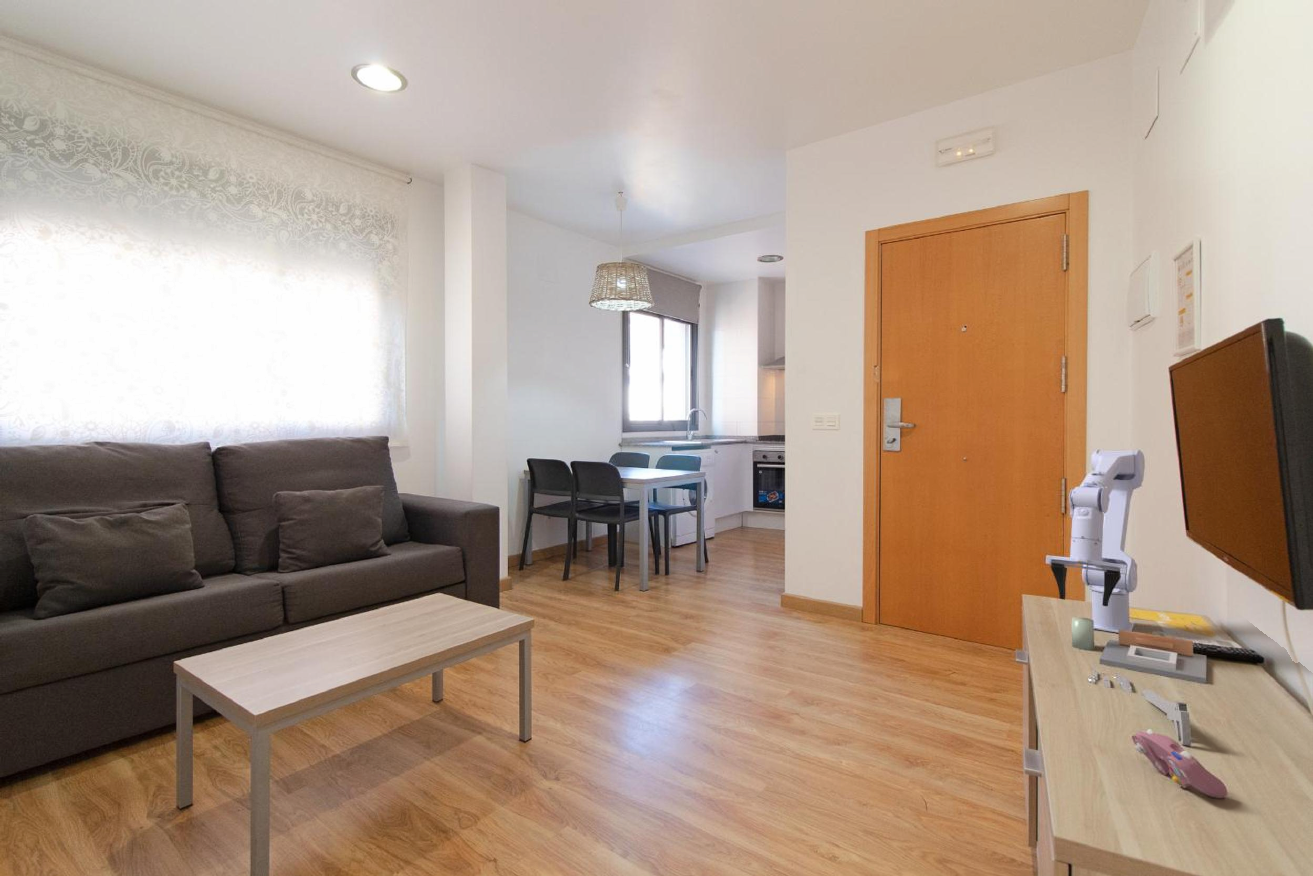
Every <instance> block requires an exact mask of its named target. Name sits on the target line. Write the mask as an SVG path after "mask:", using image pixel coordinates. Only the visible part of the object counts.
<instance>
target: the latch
mask: <svg viewBox="0 0 1313 876" xmlns="http://www.w3.org/2000/svg"><path fill="white" fill-rule="evenodd" d="M1117 635H1118V641H1119V644H1123V645H1129V646H1131V645H1132V646H1138V647H1144V648H1150V649H1156V650H1162V651H1168V652H1174V653H1177V654H1183V655H1189V656H1193V653H1194V640H1189V639H1183V638H1176V637H1170V636H1165V635H1164V636H1163V635H1157V634H1150V633H1144V632H1138V631H1133V630H1132V631H1126V630H1120V629H1119V631H1118V633H1117Z"/></svg>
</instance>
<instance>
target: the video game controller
mask: <svg viewBox="0 0 1313 876" xmlns="http://www.w3.org/2000/svg"><path fill="white" fill-rule="evenodd" d="M1131 740H1132V741H1133V743H1134V748H1135V750H1136V751H1137V752H1138V753H1140V754H1141V755H1142V754H1143V755H1144V756H1145V757H1146V758H1147V759H1148V760H1149V761H1150V762H1151V764H1152V766H1153V767H1155V769H1156V770H1157V771H1158V772H1159V771H1160V772H1159V773H1161V774H1162V773H1163V774H1162V775H1164V776H1165V775H1167V774H1169V775H1170V777H1171V779H1172V781H1173V782H1174V783H1176V784H1177V785H1178V784H1179V785H1181V786H1182V787H1184V788H1183V789H1186V788H1188V787H1190V786H1192V787H1193V788H1195V789H1196V790H1198V791H1199V792H1202V793H1203V794H1205V795H1207V796H1209V797H1211V798H1214V797H1215V799H1224V798H1225V797H1226V796H1227V794H1228V790H1227V786H1226V785H1225V783H1224V782H1223V781H1222V780H1221V779H1219V778H1218V777H1217V776H1215V775H1214V774H1212V773H1211V772H1210V771H1209V770H1207V769H1206V768H1205V767H1204V766H1203V765H1202V764H1201V763H1200V761H1199V760H1198V759H1196V758H1195V757H1194V756H1193V755H1191V754H1190V753H1189V752H1188V751H1186V750H1185V749H1184V748H1183V747H1182V746H1181V745H1180V744H1179V743H1178V742H1177V741H1176V740H1174V739H1173V738H1171V737H1169V736H1167V735H1165V734H1160V733H1155V732H1154V731H1153V730H1152V729H1151V728H1148V729H1147V730H1146V731H1145V730H1141V731H1139V732H1137V733H1134V734H1132V735H1131ZM1179 785H1178V786H1179ZM1181 786H1180V787H1181ZM1182 787H1181V788H1182ZM1223 797H1224V798H1223Z"/></svg>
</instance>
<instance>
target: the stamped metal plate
mask: <svg viewBox="0 0 1313 876" xmlns="http://www.w3.org/2000/svg"><path fill="white" fill-rule="evenodd" d="M1092 672H1093V673H1092ZM1091 673H1092V676H1091V675H1090V676H1086V677H1087V678H1086V679H1087V683H1088V682H1089V684H1091V683H1095V684H1096V681H1098V675H1102V673H1101V672H1097V669H1095V668H1093V669H1092V671H1091ZM1104 675H1106V676H1109V674H1106V673H1104ZM1106 676H1102V682H1103V685H1104V687H1103V686H1102V687H1101V688H1103V689H1104V688H1107V689H1111V682H1110V679H1109V677H1106ZM1110 676H1111V677H1114V678H1115V679H1116V680H1118V682H1119V685H1120V691H1121V692H1126V693H1127V692H1128V693H1132V686H1131V683H1130V681H1129V678H1127V677H1125V676H1123V675H1121V674H1118V673H1116V676H1114V675H1113V674H1110ZM1114 690H1116V691H1117V689H1114Z"/></svg>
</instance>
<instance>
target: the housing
mask: <svg viewBox="0 0 1313 876" xmlns="http://www.w3.org/2000/svg"><path fill="white" fill-rule="evenodd" d="M1207 659H1208V658H1207V655H1204V654H1198V653H1194V652H1193V656H1189V655H1183V654H1177V653H1174V652H1168V651H1162V650H1156V649H1150V648H1144V647H1138V646H1132V645H1131V646H1129V645H1123V644H1119V640H1113V639H1108V640H1107V643H1106V644H1105V647H1104V649H1103V651H1102V653H1101V655H1100V657H1099V664H1100V665H1104V666H1111V667H1116V668H1121V669H1126V670H1132V671H1136V672H1141V673H1147V674H1152V675H1157V676H1163V677H1167V678H1174V679H1179V680H1182V681H1183V680H1184V681H1189V682H1195V683H1198V684H1199V683H1200V684H1205V685H1206V684H1207V665H1208V664H1207V661H1208V660H1207Z"/></svg>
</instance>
